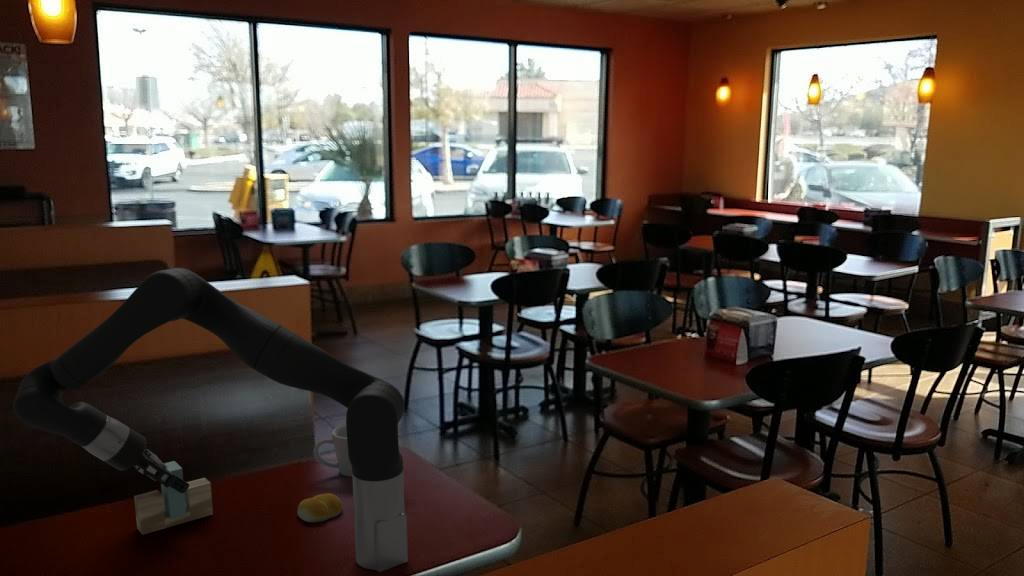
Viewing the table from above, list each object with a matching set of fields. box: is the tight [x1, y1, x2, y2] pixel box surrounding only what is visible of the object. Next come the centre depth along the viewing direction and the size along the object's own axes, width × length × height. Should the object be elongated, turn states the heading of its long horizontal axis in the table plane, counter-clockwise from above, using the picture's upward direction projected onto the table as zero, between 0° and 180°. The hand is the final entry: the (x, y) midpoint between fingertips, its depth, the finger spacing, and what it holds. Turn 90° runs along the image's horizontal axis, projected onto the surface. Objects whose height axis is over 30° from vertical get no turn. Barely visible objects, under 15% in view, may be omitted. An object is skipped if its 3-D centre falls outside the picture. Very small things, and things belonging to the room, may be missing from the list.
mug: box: [312, 424, 353, 478], centre depth 190 cm, size 10×15×10 cm
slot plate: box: [133, 477, 214, 535], centre depth 166 cm, size 4×14×7 cm, turn 129°
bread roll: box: [296, 492, 343, 523], centre depth 170 cm, size 8×9×4 cm
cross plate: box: [160, 460, 186, 519], centre depth 166 cm, size 5×3×10 cm, turn 39°
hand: (179, 482), depth 166 cm, fingers open, 8 cm apart
